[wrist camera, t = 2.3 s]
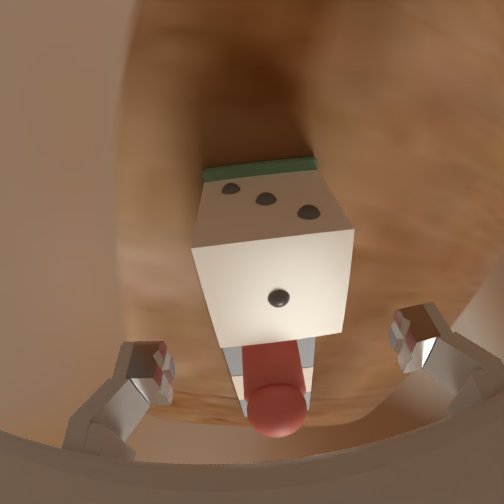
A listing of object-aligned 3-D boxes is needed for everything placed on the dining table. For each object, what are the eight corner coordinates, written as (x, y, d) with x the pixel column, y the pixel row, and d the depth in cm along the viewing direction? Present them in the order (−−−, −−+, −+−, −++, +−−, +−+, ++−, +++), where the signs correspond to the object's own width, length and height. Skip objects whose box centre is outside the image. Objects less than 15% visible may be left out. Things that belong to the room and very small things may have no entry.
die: (202, 176, 13) (187, 246, 9) (316, 163, 13) (358, 225, 9) (223, 274, 16) (221, 357, 12) (316, 263, 16) (342, 342, 12)
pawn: (228, 300, 17) (230, 425, 11) (298, 292, 17) (325, 413, 11) (238, 342, 19) (243, 450, 13) (298, 335, 19) (318, 441, 13)
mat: (202, 169, 13) (201, 172, 13) (314, 156, 13) (316, 159, 13) (223, 272, 17) (223, 277, 16) (314, 261, 17) (316, 266, 16)
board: (209, 288, 17) (208, 301, 17) (314, 275, 17) (318, 288, 16) (244, 407, 27) (245, 417, 26) (307, 400, 27) (308, 409, 26)
